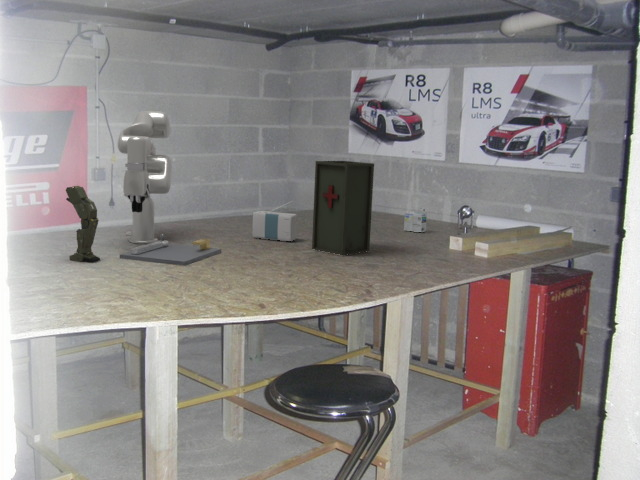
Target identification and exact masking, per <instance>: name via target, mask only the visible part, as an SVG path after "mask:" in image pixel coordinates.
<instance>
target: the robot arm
mask: <svg viewBox="0 0 640 480" xmlns="http://www.w3.org/2000/svg"><path fill="white" fill-rule="evenodd" d="M170 123H171V122H170V118H169V116H168V114H167V113H166V112H164V111H157V110H142V111H138V113H137V114H136V115H135V118H134V122H132V124H130V125H129V126H126V127H125V128H123V129H122V130H121V131H120V133H119V135H118V139H117V149H118V151H119V152H120V153H121V154H126V155H127V161H126V162H127V163H125V165H124V166H125V168H127V169H126V170H125V172H124V177H123V187H122V190H123V196H124V197H125V198H128V200H129V201H130V203H131V212H132V231H129V230H128V231H126V233H125V236H126V237H129V239H128V241H129V242H130V243H131V244H141V245H146V244H150V243H153V242H157V241H158V240H159V239H158V238H156V237H155V201H154V199H153V198H152V197H151V194H152V195H156V194H157V195H163V194H164V195H165V194H168V193H169V192H170V189H171V184H172V183H171V181H172V159H171V157H170V156H169V155H166V154H156V153H157V148H156V147H155V145H154V141H153V140H152V139H167V138H169V137H170V135H171V128H172V127H171V124H170Z"/></svg>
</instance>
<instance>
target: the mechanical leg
mask: <svg viewBox="0 0 640 480" xmlns="http://www.w3.org/2000/svg"><path fill="white" fill-rule="evenodd" d="M65 192H66V194H67V197H66V198H65V200H66V201H68V203H70V204H72V205H73V208H74V210H75V212H76V214H77V215H78V218H79V219H81V220H80V227H81V229H80V228H78V229H77V230H76V231H75V232H76V242H77V248H76V252H74V253H73V254H71V255H69V260H70V261H75V262H83V263H89V264H90V263H92V264H93V263H96V262H101V258H100V257H99V256H97V255H95V254H94V252H93V250H92V246H93V245H94V242H95V241H94V240H95V236H96V232H97V228H98V225H99V218H98V208H97V206H96V204H95V202H94V201H93V200H92V199H90V198H89V197H88V195H87V193H86V190H85V189H84V187H83V186H80V185H73V186H69V187H65Z"/></svg>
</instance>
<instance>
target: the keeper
mask: <svg viewBox="0 0 640 480" xmlns="http://www.w3.org/2000/svg"><path fill="white" fill-rule="evenodd" d="M192 245H196V246H198V245H199V247H200V249H205V250H207V249H210V248H211V246H210V245H211V239H210V238H201V239H196V240H194V241H192Z"/></svg>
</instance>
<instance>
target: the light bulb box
mask: <svg viewBox="0 0 640 480" xmlns="http://www.w3.org/2000/svg"><path fill="white" fill-rule="evenodd" d="M403 219H404V222H403V223H404V224H403V231H404V230H407V231H414V232H424V231H426V232H427V213H426V212H425V213H424V212H418V211H417V212H416V211H415V212H413V211H407V212H404V218H403Z"/></svg>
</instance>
